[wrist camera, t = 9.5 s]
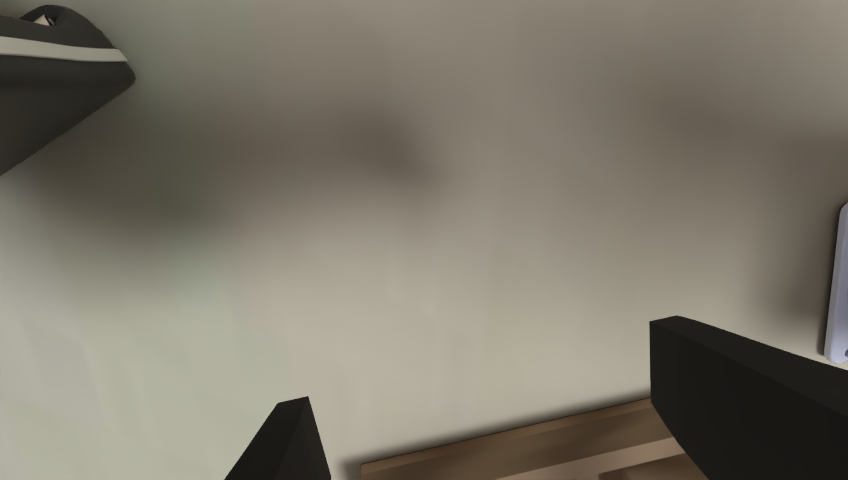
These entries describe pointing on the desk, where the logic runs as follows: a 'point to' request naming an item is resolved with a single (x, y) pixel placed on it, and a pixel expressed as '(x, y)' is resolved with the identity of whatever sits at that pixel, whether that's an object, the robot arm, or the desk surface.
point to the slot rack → (544, 450)
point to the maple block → (665, 469)
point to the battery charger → (52, 78)
